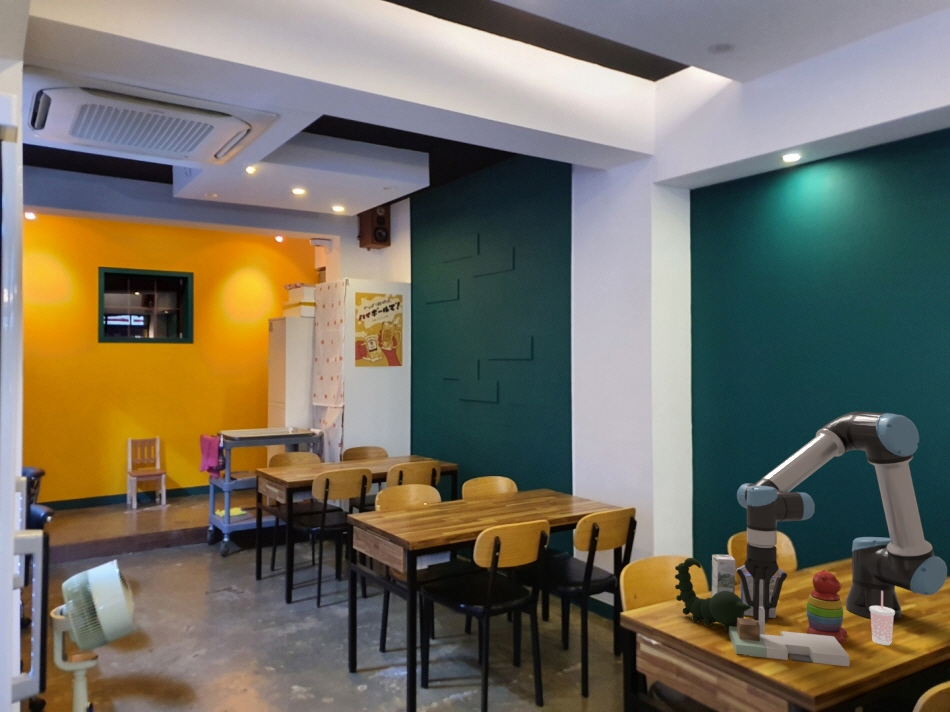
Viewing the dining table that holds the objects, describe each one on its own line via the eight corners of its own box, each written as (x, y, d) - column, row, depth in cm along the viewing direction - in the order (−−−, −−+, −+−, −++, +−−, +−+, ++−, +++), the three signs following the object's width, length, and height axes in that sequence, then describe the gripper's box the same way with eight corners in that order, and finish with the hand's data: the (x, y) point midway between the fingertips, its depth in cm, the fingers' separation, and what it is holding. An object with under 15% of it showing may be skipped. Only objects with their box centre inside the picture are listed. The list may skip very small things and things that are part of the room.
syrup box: (728, 598, 226) (729, 554, 227) (735, 604, 221) (735, 558, 221) (711, 598, 227) (711, 553, 227) (717, 604, 221) (717, 558, 221)
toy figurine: (670, 621, 209) (741, 641, 188) (667, 557, 211) (736, 570, 190) (691, 616, 214) (762, 635, 193) (688, 553, 216) (758, 565, 195)
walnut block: (756, 634, 188) (756, 619, 188) (759, 641, 183) (759, 625, 183) (737, 632, 189) (737, 617, 189) (739, 639, 184) (739, 624, 184)
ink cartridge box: (773, 612, 213) (773, 565, 214) (777, 618, 208) (777, 570, 208) (739, 609, 215) (739, 563, 216) (742, 615, 210) (743, 568, 210)
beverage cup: (888, 647, 187) (888, 595, 187) (865, 640, 192) (865, 589, 192) (898, 643, 191) (899, 592, 191) (875, 636, 196) (875, 586, 196)
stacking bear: (844, 645, 188) (845, 579, 189) (803, 637, 194) (804, 573, 194) (847, 633, 197) (848, 570, 198) (808, 625, 203) (809, 564, 203)
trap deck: (833, 645, 188) (833, 636, 188) (849, 666, 174) (849, 656, 174) (729, 635, 194) (729, 626, 194) (736, 654, 180) (736, 644, 180)
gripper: (784, 542, 188) (783, 630, 188) (734, 539, 191) (733, 625, 191) (790, 549, 181) (789, 640, 180) (738, 545, 184) (737, 635, 183)
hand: (760, 632), depth 185 cm, fingers closed
